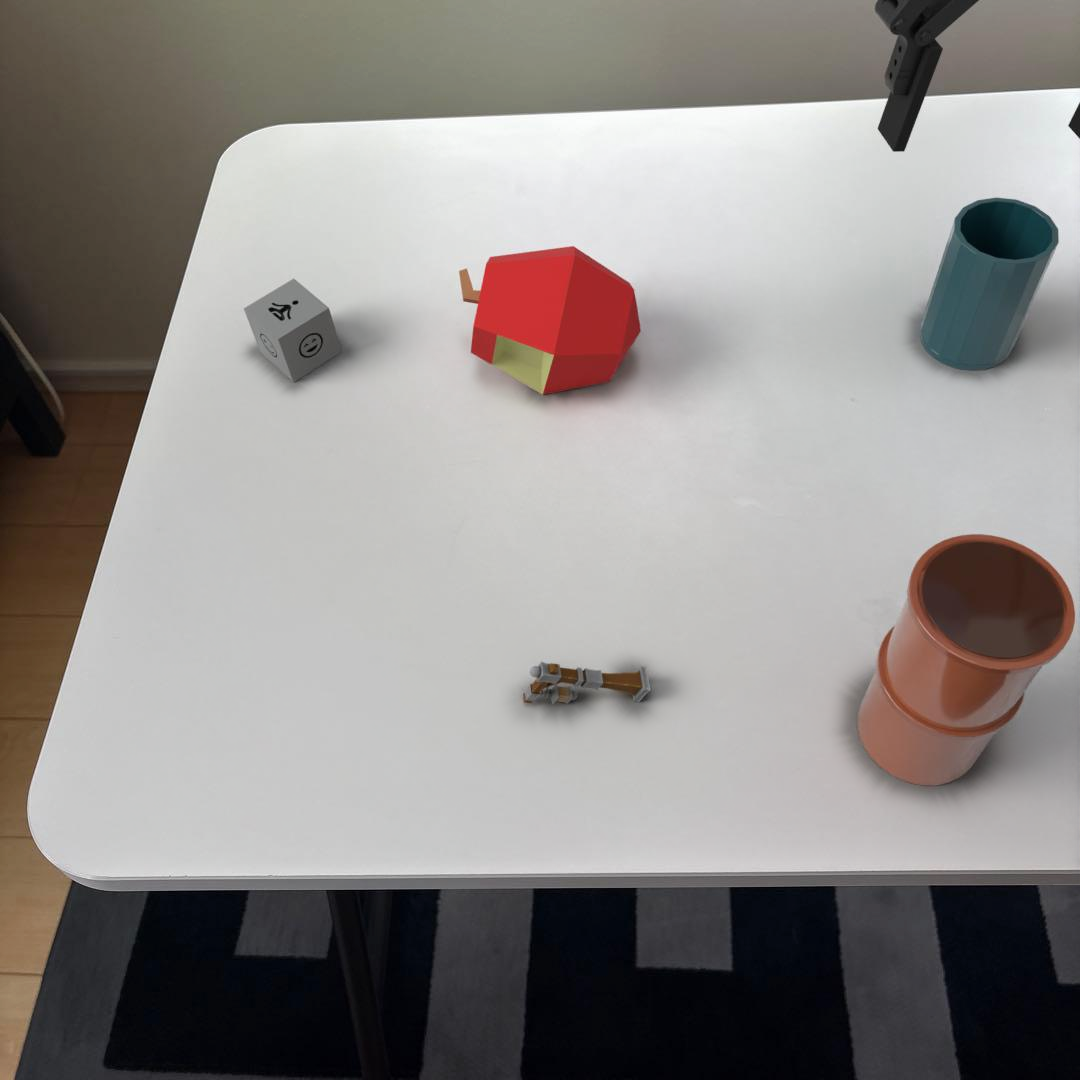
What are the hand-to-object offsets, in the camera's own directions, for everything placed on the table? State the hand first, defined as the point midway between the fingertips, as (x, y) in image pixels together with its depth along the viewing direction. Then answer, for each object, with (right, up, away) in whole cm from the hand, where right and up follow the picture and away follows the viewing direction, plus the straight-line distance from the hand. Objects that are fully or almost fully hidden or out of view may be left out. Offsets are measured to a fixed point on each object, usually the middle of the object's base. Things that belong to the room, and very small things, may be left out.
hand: (988, 139), depth 69 cm
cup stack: (-5, -38, -1) cm, 38 cm away
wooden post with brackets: (-26, -37, +2) cm, 45 cm away
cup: (+6, -9, +19) cm, 22 cm away
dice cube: (-49, -10, +22) cm, 55 cm away
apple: (-27, -11, +20) cm, 35 cm away
